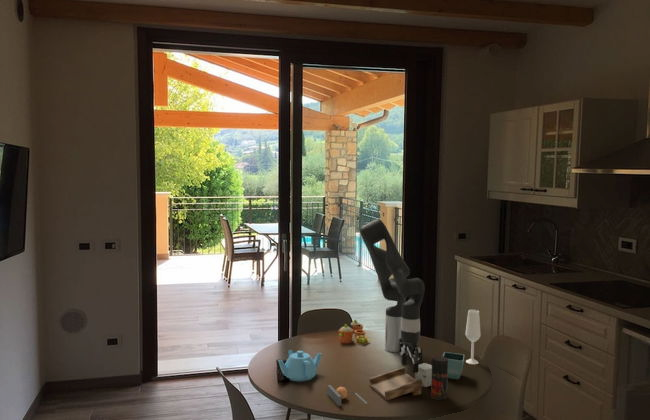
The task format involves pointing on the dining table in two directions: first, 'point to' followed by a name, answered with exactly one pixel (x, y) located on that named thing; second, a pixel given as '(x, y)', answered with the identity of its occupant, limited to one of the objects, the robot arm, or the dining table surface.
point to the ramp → (395, 384)
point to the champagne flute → (473, 332)
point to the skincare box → (424, 374)
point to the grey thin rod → (361, 398)
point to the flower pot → (454, 364)
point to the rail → (334, 395)
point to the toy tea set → (347, 333)
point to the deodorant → (439, 377)
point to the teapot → (300, 366)
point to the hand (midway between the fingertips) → (409, 368)
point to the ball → (342, 392)
